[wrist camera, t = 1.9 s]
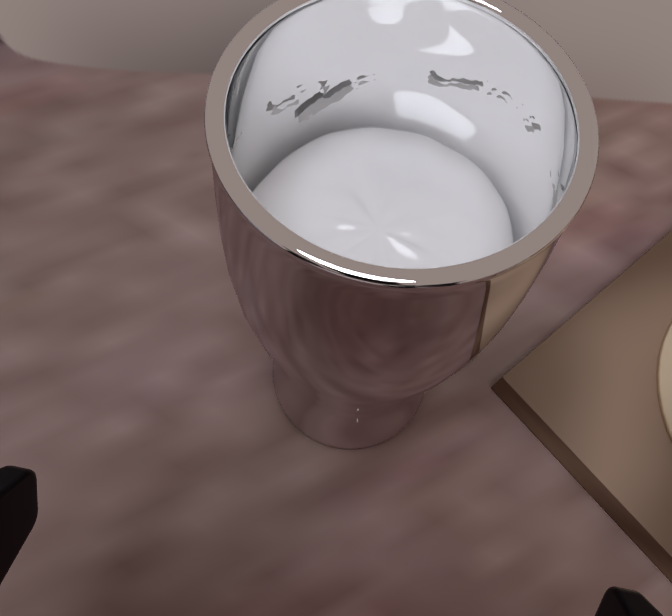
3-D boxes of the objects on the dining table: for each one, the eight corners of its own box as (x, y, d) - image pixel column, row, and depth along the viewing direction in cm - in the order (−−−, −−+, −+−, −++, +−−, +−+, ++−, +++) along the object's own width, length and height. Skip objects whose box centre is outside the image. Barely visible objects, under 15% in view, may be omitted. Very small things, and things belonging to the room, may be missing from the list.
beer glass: (224, 374, 23) (100, 104, 10) (345, 262, 25) (386, -89, 12) (354, 502, 22) (428, 400, 8) (471, 370, 24) (693, 109, 10)
